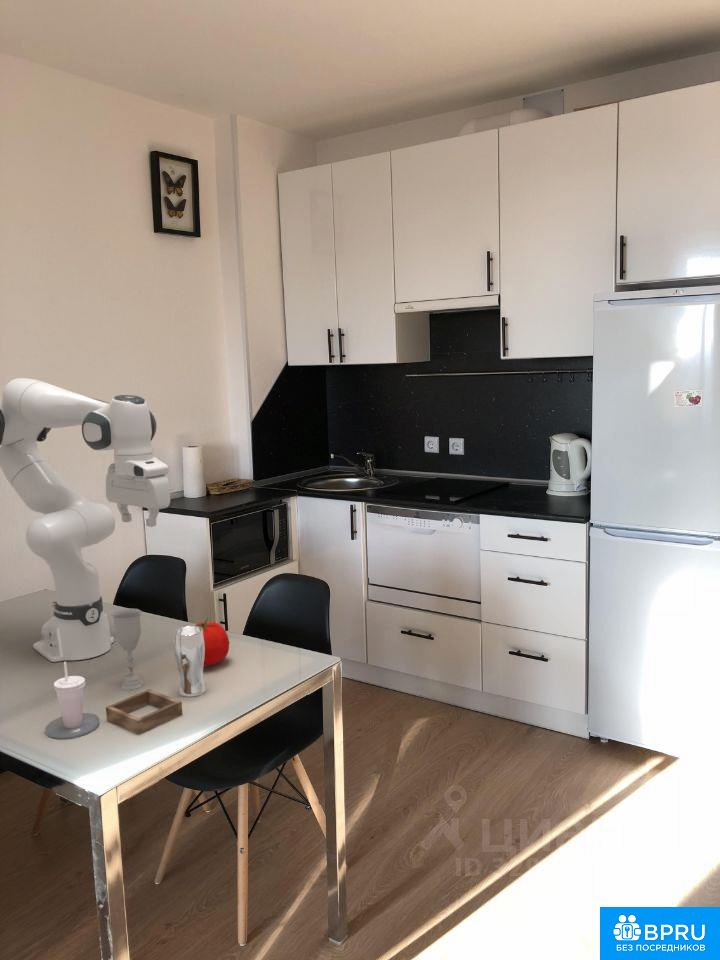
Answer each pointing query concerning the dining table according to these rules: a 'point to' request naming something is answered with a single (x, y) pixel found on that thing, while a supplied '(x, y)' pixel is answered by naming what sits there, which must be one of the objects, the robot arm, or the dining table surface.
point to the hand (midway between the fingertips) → (139, 523)
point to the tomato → (214, 642)
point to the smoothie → (70, 698)
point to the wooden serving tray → (140, 725)
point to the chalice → (128, 641)
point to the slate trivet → (61, 732)
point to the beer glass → (190, 659)
